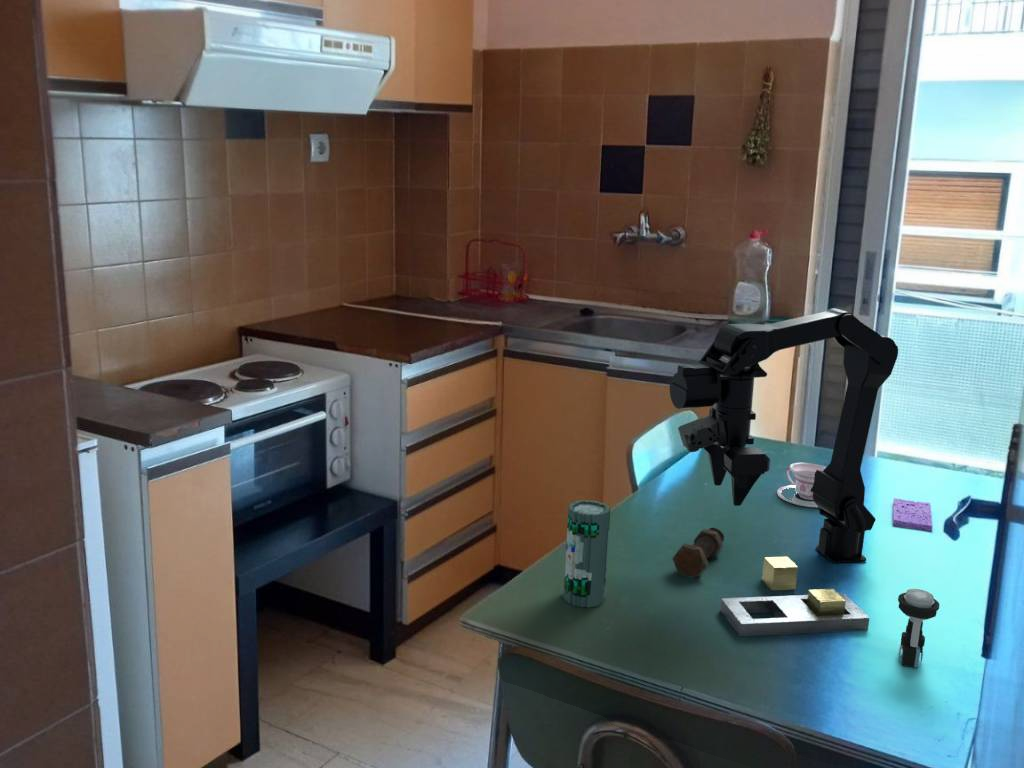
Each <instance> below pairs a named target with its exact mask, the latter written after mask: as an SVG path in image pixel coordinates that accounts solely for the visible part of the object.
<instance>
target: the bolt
mask: <svg viewBox="0 0 1024 768" xmlns="http://www.w3.org/2000/svg"><path fill="white" fill-rule="evenodd" d="M724 539H725V535H724V533H723V532H722V531H721V530H720V529H718V528H715V527H710V528H709V529H707V528H703V529H702V530H700V532H699V533H698V534H697V535H696V537H695V538H694V540H693V544H688V543H683V544H682V545H681V547H680V548H679V549H678V550H677V551H676V553H675V554H674V556H673V557H672V560H673V563H674V566H675V569H676V571H677V572H678V574H680V575H683V576H685V577H690V578H698V577H699V576H700V575H701V574H702V573H703V571H704V570H705V569H706V568H707V566H708V565H709V561H708V560H707V559H708V558H709V557H710V558H714V557H715V556H717V554H718V552H719V551H720V550H721V549H722V548H723V546H724V543H723V542H724Z"/></svg>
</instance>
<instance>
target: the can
mask: <svg viewBox="0 0 1024 768" xmlns="http://www.w3.org/2000/svg"><path fill="white" fill-rule="evenodd" d="M567 511H568V512H567V529H566V544H565V545H566V546H565V562H564V563H565V565H564V581H563V582H564V584H563V599H564V600H565V601H566V602H567V603H568V604H569V605H570V604H572V605H573V606H575V607H580V608H585V607H586V608H587V609H588V608H594V607H599V606H600V605H602V604H603V603H604V602H605V600H606V598H605V597H606V587H607V586H606V583H607V567H608V552H609V551H608V550H609V539H610V538H609V537H610V524H611V523H610V521H611V507H610V506H609V505H607V504H606V503H605V502H602V503H601V502H600V501H597V500H592V499H591V500H587V499H582V500H575V501H574V502H571V503H569V505H568V508H567Z"/></svg>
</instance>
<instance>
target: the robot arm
mask: <svg viewBox="0 0 1024 768" xmlns="http://www.w3.org/2000/svg"><path fill="white" fill-rule="evenodd" d="M829 339H833V340H834V342H835V343H836V344H838V345H839V346H840V347H841V348H843V367H844V371H845V375H846V379H847V385H846V391H845V395H844V400H843V404H842V409H841V413H840V418H839V423H838V427H837V433H836V436H835V440H834V441H835V442H834V446H833V449H832V455H831V459H830V462H829V464H828V465H826V466H825V467H826V468H825V469H824V470H823V471H820V470H816V472H815V477H814V484H813V486H812V488H811V490H810V491H811V492H813V500H812V501H814V502H815V503H816V505H817V506H818V509H817V510H818V513H819V515H820V516H823V517H824V519H823V525H822V527H821V528H820V530H819V531H820V532H819V537H818V538H819V540H818V544H817V545H816V546H815V549H817V551H818V552H820V553H821V554H822V555H823V556H824V557H825V558H826V559H827V560H829V561H830V562H831V563H834V564H836V563H856V562H857V563H859V562H866V561H867V557H865V556H864V555H863V549H864V541H865V532H866V531H871V530H872V529H873V526H874V525H875V522H876V520H877V519H876V517H875V516H874V515H873V514H872V513H871V512H870V511H869V509H868V508H867V507H866V506H865V496H866V495H865V493H866V487H865V486H866V485H865V482H864V480H863V479H864V478H863V475H862V469H861V468H862V463H863V458H864V456H865V451H866V446H867V441H868V438H869V437H868V436H869V433H870V429H871V424H872V419H873V414H874V411H875V405H876V401H877V397H878V392H879V389H880V387H882V385H883V384H884V383H885V382H886V381H887V380H888V379H889V377H890V376H891V375H892V373H893V370H894V367H895V364H896V362H897V360H898V357H899V347H898V345H897V344H896V342H895V340H894V339H892V338H891V337H888V336H885V335H882V334H880V333H878V332H877V331H875V330H873V328H871V327H869V326H868V325H866V324H865V323H863V322H861V320H859V319H858V318H857V317H856V316H855V315H853V313H852V312H849V311H846V310H842V309H839V308H836V307H835V308H830V309H826V310H825V311H822V312H821V311H820V312H817V313H813V314H808V315H807V314H806V315H804V316H799V317H795V318H789V319H786V320H785V319H784V320H781V321H778V322H777V321H776V322H772V323H769V324H767V323H766V324H765V323H764V324H763V323H762V324H757V323H728V324H726V325H725V324H724V325H722V326H721V327H720V328H719V329H718V332H717V333H716V335H715V338H714V341H713V342H712V343H711V345H710V346H709V348H707V350H706V352H705V353H704V354H703V356H702V357H701V359H700V360H699V362H698V364H697V365H688V364H679V365H677V371H676V372H675V373H674V375H673V377H672V378H671V382H670V383H669V395H670V396H669V397H670V399H671V402H672V405H673V406H674V407H675V408H676V409H677V410H682V409H695V408H707V407H711V408H709V411H708V416H706V417H701V418H698V419H694V420H692V421H690V422H686V423H683V424H681V425H680V426H678V433H679V437H680V440H681V442H682V445H683V447H685V449H687V451H688V452H689V453H695V452H698V451H700V449H704V451H705V452H706V453H707V456H708V460H709V466H710V470H711V475H712V480H713V484H714V486H716V487H717V486H721V485H722V484H723V481H724V479H725V477H726V474H727V473H728V474H729V475H730V477H731V479H730V480H731V492H732V493H731V494H732V495H731V496H732V502H733V506H735V507H739V506H740V507H741V505H742V504H743V503H744V501H745V499H746V498H747V496H748V494H749V493H750V492H751V489H752V488H753V487H754V485H755V483H756V482H757V481H758V480H759V478H760V477H761V476H762V475H765V473H766V472H770V464H771V458H770V457H769V456H768V455H767V454H766V453H765V452H763V450H761V449H760V448H758V446H746V445H754V442H755V441H754V440H755V438H754V437H753V436H752V435H751V423H752V421H755V420H756V417H757V413H756V412H754V410H752V409H753V399H754V385H755V378H766V377H767V376H768V372H767V371H765V370H764V369H763V368H762V367H761V366H760V363H761V362H763V361H766V360H768V359H769V358H770V357H771V356H772V355H774V353H778V352H779V351H781V350H782V351H783V350H786V349H790V348H794V347H798V346H799V347H800V346H802V345H803V346H804V345H809V344H812V343H816V342H820V341H825V340H829ZM721 359H724V360H726V361H727V362H725V361H723V360H721Z"/></svg>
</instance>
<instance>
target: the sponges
mask: <svg viewBox="0 0 1024 768" xmlns="http://www.w3.org/2000/svg"><path fill="white" fill-rule="evenodd" d="M892 501H893V503H892V525H893V526H895V527H900V528H901V527H902V528H907V529H913V530H914V529H916V530H921V531H927V532H932V531H933V521H932V520H933V519H932V505H931V502H924V501H915V500H910V499H908V500H906V499H901V498H895V497H893V500H892Z"/></svg>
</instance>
